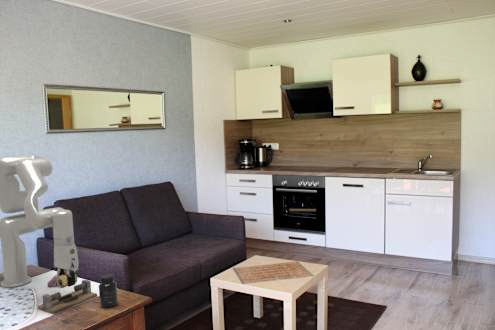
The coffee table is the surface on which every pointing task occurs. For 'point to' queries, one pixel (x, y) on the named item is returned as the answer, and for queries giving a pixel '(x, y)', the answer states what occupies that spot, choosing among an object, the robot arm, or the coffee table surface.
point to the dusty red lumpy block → (53, 280)
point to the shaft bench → (67, 298)
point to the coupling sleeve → (64, 280)
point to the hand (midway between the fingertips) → (67, 283)
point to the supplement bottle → (108, 291)
